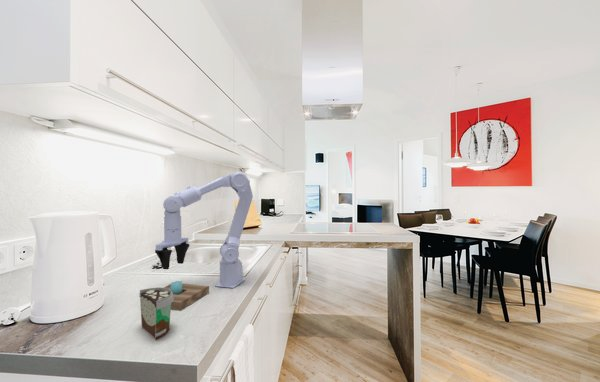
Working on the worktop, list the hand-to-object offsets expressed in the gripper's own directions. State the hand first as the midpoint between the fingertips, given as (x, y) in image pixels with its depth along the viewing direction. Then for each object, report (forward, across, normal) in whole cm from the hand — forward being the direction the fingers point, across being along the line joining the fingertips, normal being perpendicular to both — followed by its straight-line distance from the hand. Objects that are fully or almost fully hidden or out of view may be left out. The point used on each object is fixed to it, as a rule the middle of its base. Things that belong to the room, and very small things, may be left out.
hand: (173, 266), depth 101 cm
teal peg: (+9, +6, +6) cm, 12 cm away
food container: (+10, +24, +16) cm, 30 cm away
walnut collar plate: (+9, +6, +6) cm, 12 cm away
